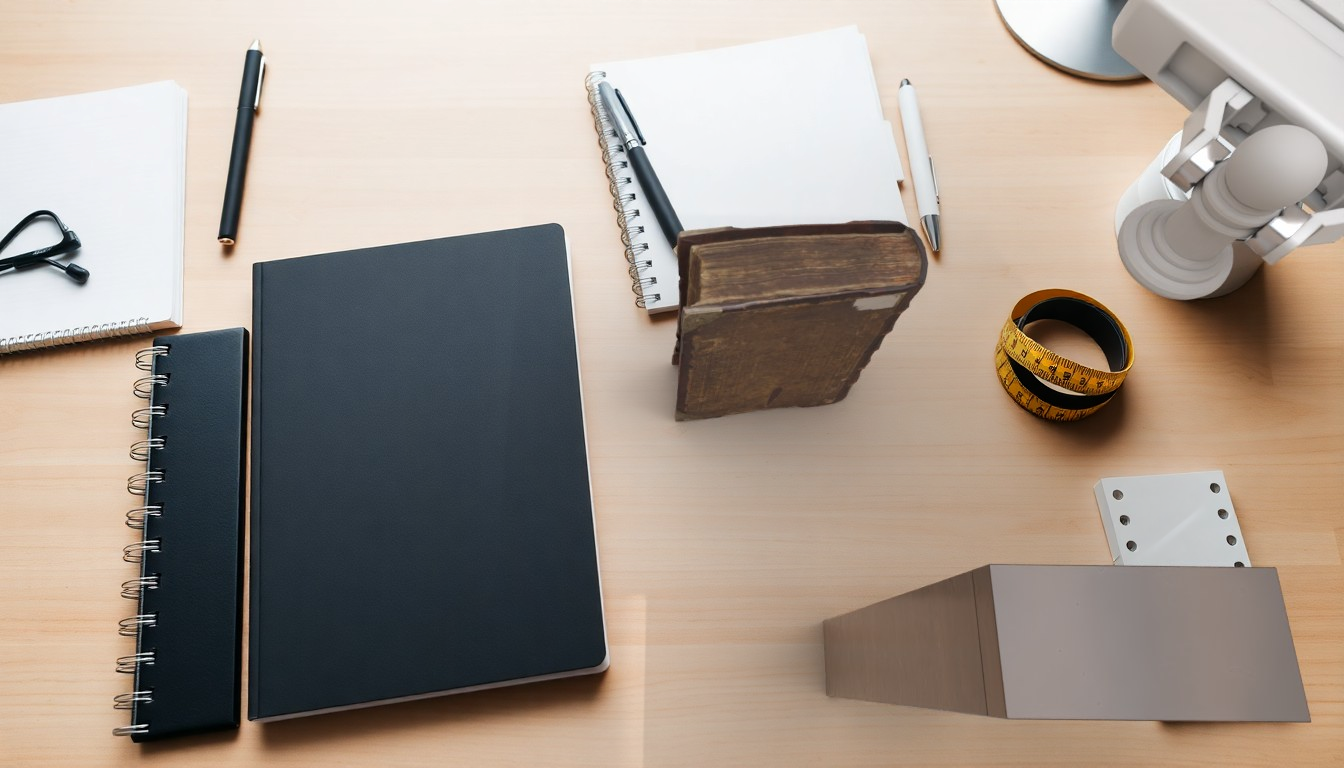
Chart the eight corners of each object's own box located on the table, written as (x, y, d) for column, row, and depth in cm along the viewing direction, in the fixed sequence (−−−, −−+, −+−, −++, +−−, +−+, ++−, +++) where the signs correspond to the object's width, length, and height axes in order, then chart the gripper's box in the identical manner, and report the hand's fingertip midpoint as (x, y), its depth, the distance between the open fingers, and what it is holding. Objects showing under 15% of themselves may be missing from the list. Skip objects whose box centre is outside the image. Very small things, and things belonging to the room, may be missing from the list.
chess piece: (1247, 267, 40) (1402, 157, 32) (1168, 323, 39) (1307, 225, 31) (1168, 188, 42) (1295, 63, 33) (1090, 240, 41) (1201, 125, 32)
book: (848, 354, 78) (927, 216, 55) (853, 426, 76) (938, 315, 52) (671, 353, 78) (674, 215, 55) (671, 426, 76) (674, 313, 52)
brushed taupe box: (964, 622, 70) (1276, 567, 34) (972, 698, 68) (1312, 722, 32) (823, 620, 70) (988, 563, 34) (826, 696, 68) (1006, 719, 32)
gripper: (1272, -142, 38) (1073, 7, 35) (1695, 147, 33) (1502, 352, 30) (1191, -32, 44) (1014, 104, 41) (1538, 229, 39) (1364, 406, 36)
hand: (1223, 211), depth 36 cm, fingers closed on chess piece, 3 cm apart
